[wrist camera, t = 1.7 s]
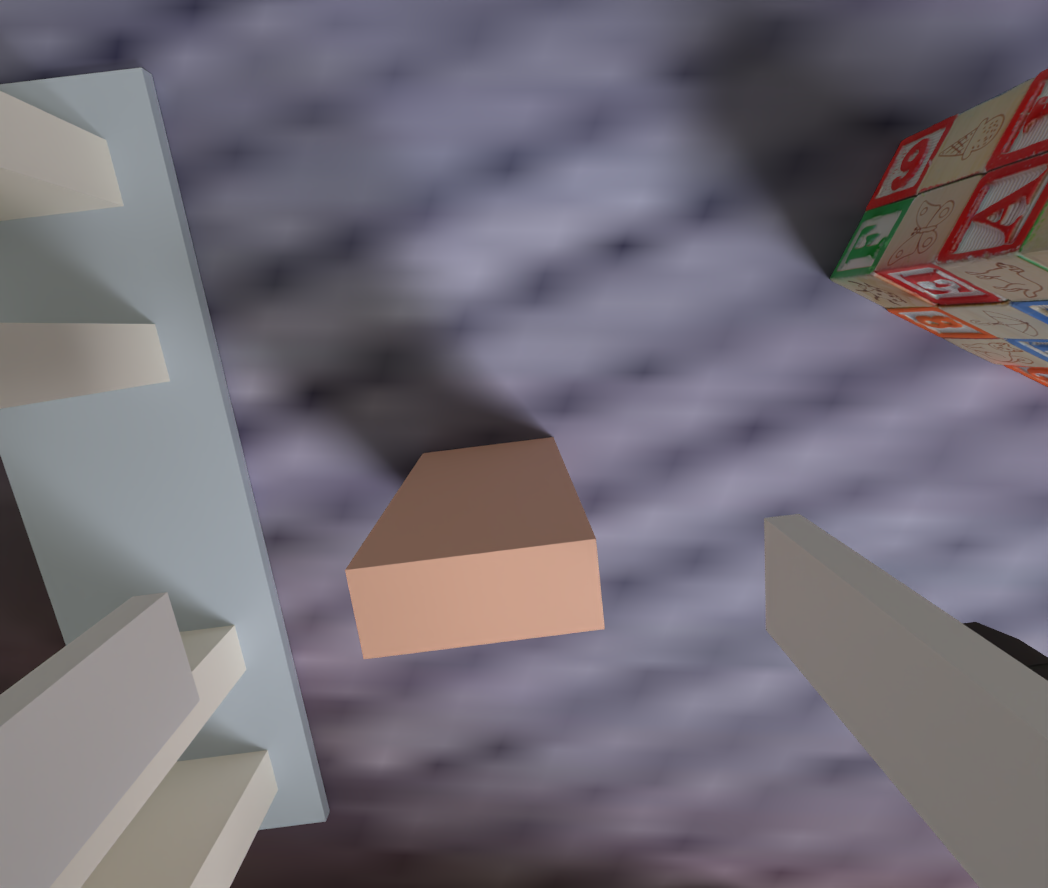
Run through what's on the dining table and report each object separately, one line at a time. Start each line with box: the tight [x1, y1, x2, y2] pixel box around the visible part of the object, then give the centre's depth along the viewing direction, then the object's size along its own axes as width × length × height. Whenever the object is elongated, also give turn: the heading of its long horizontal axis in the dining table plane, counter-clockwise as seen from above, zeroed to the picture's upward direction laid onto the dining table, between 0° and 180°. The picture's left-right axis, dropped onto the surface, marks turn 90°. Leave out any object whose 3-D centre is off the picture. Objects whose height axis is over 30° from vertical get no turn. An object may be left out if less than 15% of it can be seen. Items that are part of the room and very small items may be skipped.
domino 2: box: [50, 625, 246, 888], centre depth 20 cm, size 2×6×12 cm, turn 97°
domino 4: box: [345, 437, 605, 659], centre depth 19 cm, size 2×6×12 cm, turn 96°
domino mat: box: [0, 67, 330, 830], centre depth 24 cm, size 35×10×1 cm, turn 7°
